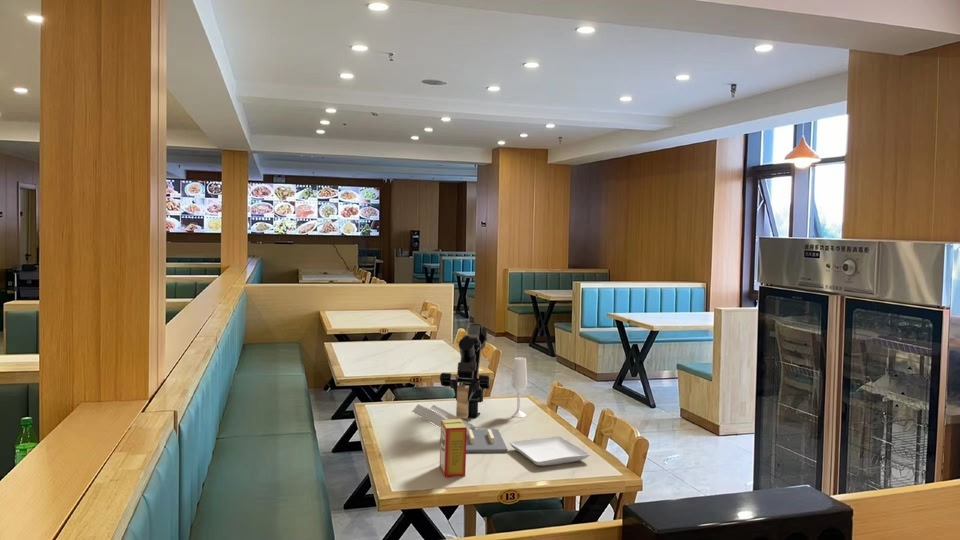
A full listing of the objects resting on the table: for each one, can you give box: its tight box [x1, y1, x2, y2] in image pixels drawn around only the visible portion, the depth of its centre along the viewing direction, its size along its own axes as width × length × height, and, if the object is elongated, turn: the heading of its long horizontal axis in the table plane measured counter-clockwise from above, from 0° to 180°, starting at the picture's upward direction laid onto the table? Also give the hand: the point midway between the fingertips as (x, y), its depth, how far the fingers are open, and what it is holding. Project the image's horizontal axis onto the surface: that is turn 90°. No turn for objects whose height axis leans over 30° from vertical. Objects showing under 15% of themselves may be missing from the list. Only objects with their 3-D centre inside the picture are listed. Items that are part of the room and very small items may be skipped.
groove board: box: [466, 428, 508, 454], centre depth 235 cm, size 22×16×3 cm
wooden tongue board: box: [455, 383, 469, 419], centre depth 241 cm, size 4×4×12 cm
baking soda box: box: [439, 418, 467, 478], centre depth 206 cm, size 10×6×16 cm
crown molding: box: [411, 403, 476, 429], centre depth 260 cm, size 31×12×4 cm, turn 33°
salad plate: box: [509, 435, 591, 467], centre depth 224 cm, size 21×21×3 cm
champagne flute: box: [509, 356, 528, 418], centre depth 270 cm, size 7×7×24 cm
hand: (462, 400), depth 240 cm, fingers closed on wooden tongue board, 4 cm apart
